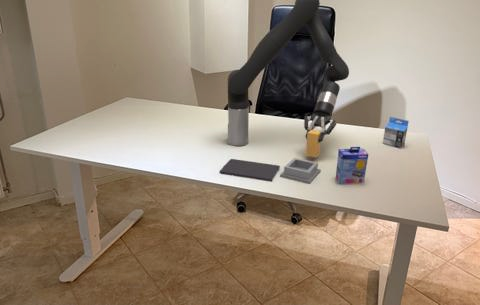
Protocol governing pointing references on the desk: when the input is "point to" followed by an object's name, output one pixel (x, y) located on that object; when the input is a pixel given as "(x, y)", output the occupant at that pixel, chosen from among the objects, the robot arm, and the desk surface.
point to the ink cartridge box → (351, 165)
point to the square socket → (301, 170)
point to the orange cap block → (313, 143)
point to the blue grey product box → (395, 132)
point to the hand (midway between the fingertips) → (313, 140)
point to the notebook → (250, 169)
